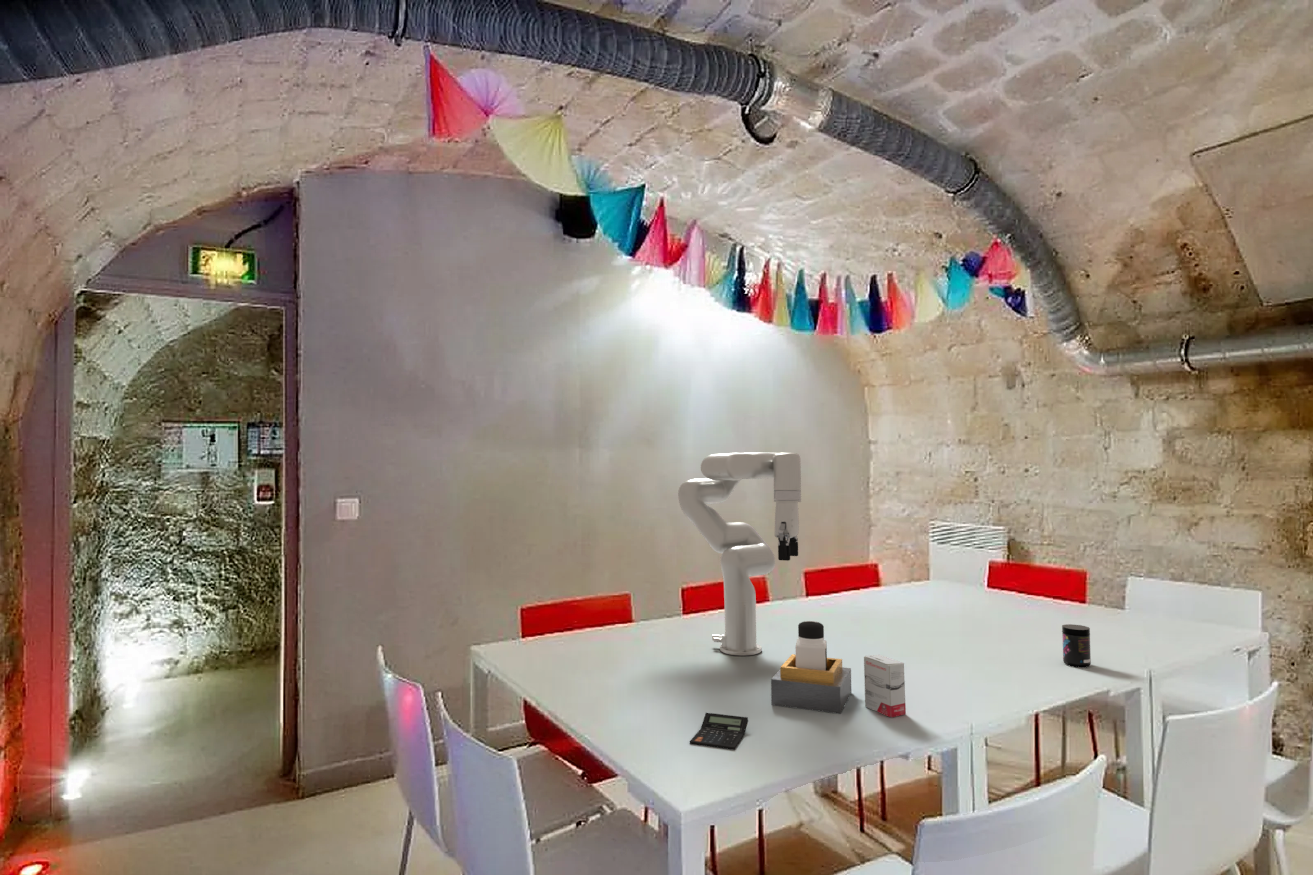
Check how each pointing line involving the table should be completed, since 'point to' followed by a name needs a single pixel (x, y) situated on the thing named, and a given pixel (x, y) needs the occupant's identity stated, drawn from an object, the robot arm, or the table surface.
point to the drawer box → (812, 686)
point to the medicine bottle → (811, 646)
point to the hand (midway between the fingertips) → (788, 558)
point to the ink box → (884, 685)
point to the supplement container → (1076, 645)
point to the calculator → (721, 731)
